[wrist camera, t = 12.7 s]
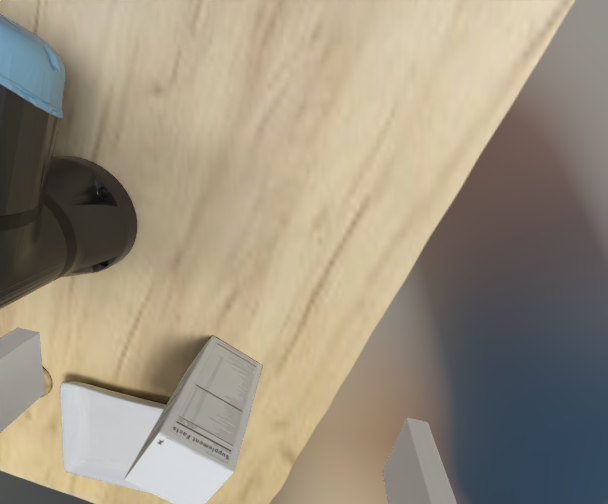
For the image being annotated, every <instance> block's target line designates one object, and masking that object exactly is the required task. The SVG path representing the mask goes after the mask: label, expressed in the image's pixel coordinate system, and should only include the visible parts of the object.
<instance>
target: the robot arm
mask: <svg viewBox="0 0 608 504" xmlns="http://www.w3.org/2000/svg"><path fill="white" fill-rule="evenodd" d="M64 83H65V68H64V65H63V62H62V60H61V59H60V57H59V55H58V54H57V53H56V51H55V50H54V49H53V48H52V47H51V46H50V45H48V44H47V43H46V42H44V41H43V40H42V39H40V38H39V37H37V36H36V35H34V34H33V33H31V32H29V31H28V30H26V29H24V28H23V27H21V26H19V25H18V24H16V23H14V22H13V21H11V20H9V19H8V18H6V17H4V16H3V15H1V14H0V309H1V308H3V307H5V306H7V305H8V304H10V303H12V302H14V301H16V300H18V299H20V298H22V297H23V296H25V295H27V294H29V293H31V292H33V291H35V290H37V289H38V288H40V287H42V286H44V285H46V284H48V283H50V282H52V281H54V280H56V279H58V278H60V277H65V276H73V275H80V274H88V273H94V272H98V271H101V270H104V269H107V268H108V267H110V266H112V265H114V264H115V263H117V262H119V261H120V260H122V259H123V258H124V257H125V256H126V255H127V254H128V253H129V251H130V250H131V248H132V247H133V244H134V242H135V238H136V233H137V219H136V214H135V210H134V207H133V204H132V202H131V200H130V198H129V196H128V194H127V192H126V191H125V189H124V188H123V187H122V185H121V184H120V183H119V182H118V181H117V180H116V179H115V178H114V177H113V176H112V175H111V174H110V173H109V172H107V171H106V170H105V169H103V168H102V167H100V166H98V165H97V164H95V163H93V162H90V161H88V160H85V159H81V158H77V157H52V155H53V150H54V146H55V141H56V136H57V131H58V127H59V122H60V118H63V115H64V112H63V110H62V100H63V91H64ZM43 394H44V382H43V370H42V358H41V346H40V334H39V333H38V332H34V331H30V330H25V329H21V328H16V329H15V330H13V331H11V332H10V333H8V334H6V335H5V336H3V337H2V338H0V433H1V432H2V431H3V430H4V429H5V428H6V427H7V426H8V425H9V424H11V423H12V422H13V421H14V420H15V419H16V418H17V417H18V416H20V415H21V414H22V413H23V412H24V411H25V410H26V409H27V408H28V407H30V406H31V405H32V404H33V403H34V402H35V401H36V400H37V399H38V398H40V397H41V396H42V395H43ZM383 476H384V482H385V488H386V494H387V500H388V504H457V503H456V500H455V497H454V495H453V492H452V489H451V487H450V484H449V481H448V478H447V475H446V472H445V469H444V467H443V464H442V461H441V458H440V456H439V453H438V450H437V447H436V445H435V442H434V439H433V436H432V433H431V430H430V428H429V425H428V422H424V421H419V420H415V419H411V418H406V420H405V422H404V424H403V426H402V429H401V431H400V433H399V435H398V437H397V440H396V442H395V444H394V446H393V448H392V451H391V453H390V455H389V457H388V460H387V462H386V464H385V466H384V468H383Z"/></svg>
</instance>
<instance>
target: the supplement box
mask: <svg viewBox="0 0 608 504" xmlns="http://www.w3.org/2000/svg"><path fill="white" fill-rule="evenodd" d="M261 371H262V365H261V364H259V363H258V362H256V361H254V360H253V359H251V358H249V357H248V356H246V355H244V354H243V353H241V352H239V351H238V350H236V349H234V348H233V347H231V346H229V345H228V344H226V343H224V342H223V341H221V340H219V339H218V338H216V337H214V336H211V338H210V339H209V340H208V341H207V343H206V344H205V345H204V347H203V348H202V349H201V351H200V352H199V353H198V355H197V356H196V357H195V359H194V360H193V362H192V363H191V365H190V366H189V367H188V369H187V370H186V372H185V374H184V376H183V377H182V379H181V381H180V382H179V384H178V386H177V387H176V389H175V391H174V393H173V394H172V396H171V398H170V399H169V401H168V403H167V405H166V406H165V408H164V410H163V412H162V413H161V415H160V417H159V419H158V420H157V422H156V424H155V426H154V427H153V429H152V431H151V433H150V434H149V436H148V438H147V440H146V441H145V443H144V445H143V447H142V448H141V450H140V452H139V454H138V455H137V457H136V459H135V461H134V462H133V464H132V466H131V467H130V469H129V471H128V473H127V474H126V476H125V478H124V480H126V481H128V482H130V483H132V484H134V485H136V486H138V487H140V488H142V489H144V490H146V491H148V492H150V493H152V494H154V495H156V496H158V497H161V498H163V499H165V500H167V501H169V502H171V503H173V504H205V503H206V501H207V500H208V499H209V498H210V497H211V496H212V495H213V494H214V493H215V492H216V491H217V490H218V489H219V488H220V487H221V486H222V484H223V483H224V482H225V481H226V480H227V479H228V478H229V477H230V476H231V475H232V474H233V472H234V470H235V467H236V463H237V460H238V456H239V452H240V448H241V445H242V441H243V437H244V434H245V430H246V427H247V423H248V419H249V416H250V412H251V407H252V404H253V400H254V397H255V393H256V389H257V385H258V382H259V378H260V375H261Z"/></svg>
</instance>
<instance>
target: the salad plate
mask: <svg viewBox="0 0 608 504" xmlns="http://www.w3.org/2000/svg"><path fill="white" fill-rule="evenodd" d="M60 406H61V426H62V448H63V467H64V470H65V471H66V472H69V473H72V474H75V475H79V476H83V477H87V478H91V479H95V480H99V481H103V482H107V483H111V484H115V485H119V486H123V487H127V488H131V489H135V490H139V491H143V492H147V493H150V492H148V491H146V490H144V489H142V488H140V487H138V486H136V485H134V484H132V483H130V482H128V481H126V480H124V478H125V476H126V474H127V473H128V471H129V469H130V467H131V466H132V464H133V462H134V461H135V459H136V457H137V455H138V454H139V452H140V450H141V448H142V447H143V445H144V443H145V441H146V440H147V438H148V436H149V434H150V433H151V431H152V429H153V427H154V426H155V424H156V422H157V420H158V419H159V417H160V415H161V413H162V412H163V410H164V408H165V406H166V404H162V403H157V402H153V401H149V400H145V399H141V398H138V397H134V396H130V395H126V394H122V393H119V392H115V391H111V390H107V389H104V388H100V387H97V386H93V385H90V384H86V383H81V382H64V383H62V384H61V386H60ZM151 494H152V493H151Z"/></svg>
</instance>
